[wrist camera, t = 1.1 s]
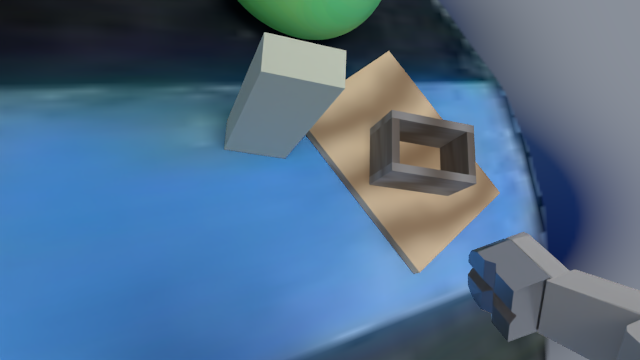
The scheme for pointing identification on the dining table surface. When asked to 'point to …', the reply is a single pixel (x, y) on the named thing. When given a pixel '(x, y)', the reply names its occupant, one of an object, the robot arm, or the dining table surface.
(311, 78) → the tall grey rectangular block
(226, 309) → the dining table surface
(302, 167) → the dining table surface
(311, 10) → the toy bird
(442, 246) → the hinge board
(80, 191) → the dining table surface
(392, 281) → the dining table surface
